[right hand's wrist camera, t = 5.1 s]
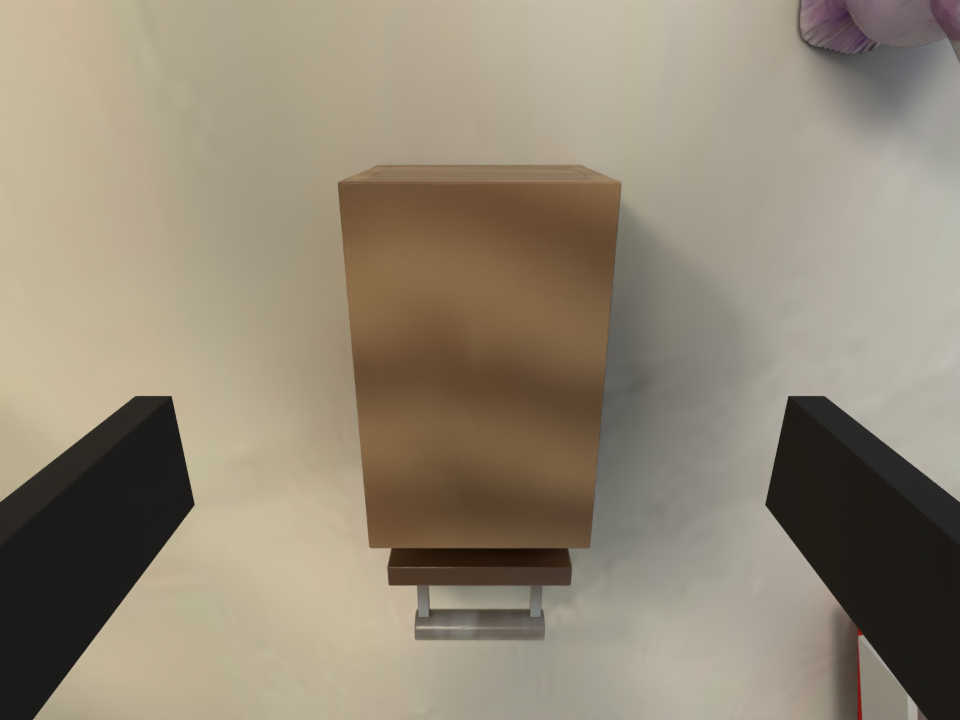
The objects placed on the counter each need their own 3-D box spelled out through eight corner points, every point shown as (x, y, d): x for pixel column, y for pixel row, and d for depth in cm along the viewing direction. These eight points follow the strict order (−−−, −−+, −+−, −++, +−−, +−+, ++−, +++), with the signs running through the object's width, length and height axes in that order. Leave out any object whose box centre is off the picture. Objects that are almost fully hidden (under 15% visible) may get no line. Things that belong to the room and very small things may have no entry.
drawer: (550, 577, 38) (564, 670, 32) (409, 577, 38) (394, 670, 32) (568, 252, 31) (592, 288, 24) (390, 252, 31) (366, 288, 24)
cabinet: (565, 451, 36) (590, 549, 28) (394, 451, 36) (369, 548, 28) (582, 165, 30) (622, 181, 22) (376, 165, 30) (337, 181, 22)
